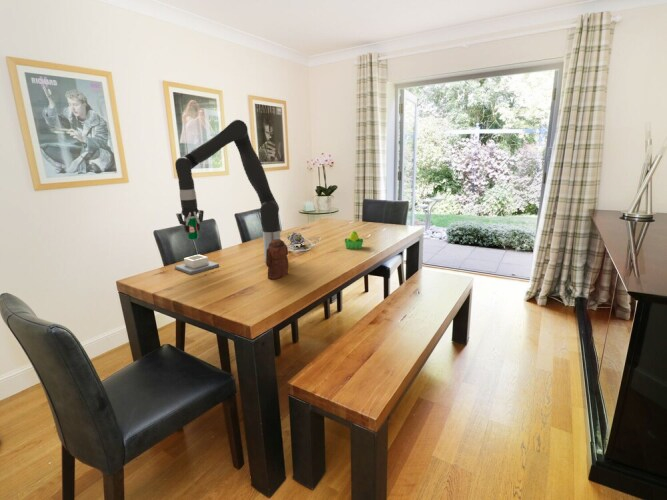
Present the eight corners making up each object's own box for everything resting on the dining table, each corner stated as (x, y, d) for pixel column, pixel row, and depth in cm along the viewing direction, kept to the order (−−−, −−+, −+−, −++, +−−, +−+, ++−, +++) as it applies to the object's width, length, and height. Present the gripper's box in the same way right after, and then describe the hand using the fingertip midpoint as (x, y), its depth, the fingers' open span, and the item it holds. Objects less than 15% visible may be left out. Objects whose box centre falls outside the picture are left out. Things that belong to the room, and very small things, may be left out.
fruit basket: (363, 246, 220) (363, 228, 217) (363, 250, 211) (363, 231, 208) (345, 246, 221) (345, 228, 218) (344, 250, 212) (344, 231, 210)
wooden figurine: (280, 271, 176) (277, 236, 171) (290, 273, 172) (288, 237, 168) (264, 278, 166) (261, 241, 161) (275, 280, 163) (272, 243, 158)
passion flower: (299, 256, 220) (292, 244, 212) (288, 250, 227) (281, 238, 219) (311, 244, 224) (304, 231, 216) (300, 238, 231) (293, 226, 223)
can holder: (219, 266, 186) (218, 256, 184) (191, 274, 174) (189, 263, 172) (202, 261, 195) (201, 251, 194) (174, 268, 183) (173, 258, 182)
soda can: (186, 239, 179) (183, 216, 175) (191, 237, 183) (188, 215, 180) (195, 240, 178) (192, 216, 175) (200, 237, 183) (197, 215, 179)
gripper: (178, 200, 167) (183, 235, 172) (205, 197, 178) (209, 230, 183) (170, 199, 172) (175, 233, 176) (197, 196, 183) (201, 228, 187)
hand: (192, 231), depth 180 cm, fingers closed on soda can, 5 cm apart
